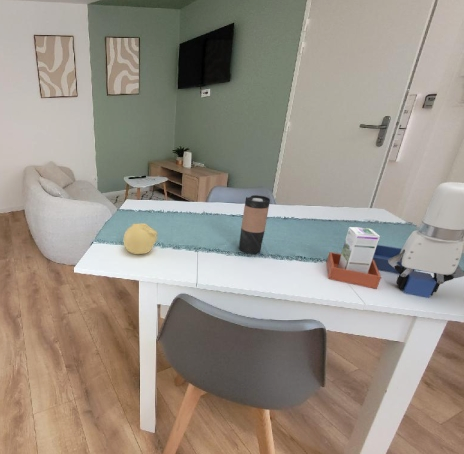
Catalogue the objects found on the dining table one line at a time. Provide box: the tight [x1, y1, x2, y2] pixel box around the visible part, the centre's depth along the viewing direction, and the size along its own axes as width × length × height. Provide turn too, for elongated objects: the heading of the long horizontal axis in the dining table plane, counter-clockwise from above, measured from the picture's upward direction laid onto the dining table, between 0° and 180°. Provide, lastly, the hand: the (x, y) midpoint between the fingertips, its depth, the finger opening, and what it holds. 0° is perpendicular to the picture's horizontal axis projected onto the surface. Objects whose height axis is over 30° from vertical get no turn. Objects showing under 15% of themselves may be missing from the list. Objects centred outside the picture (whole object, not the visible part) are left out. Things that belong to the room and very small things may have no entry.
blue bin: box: [372, 244, 416, 275], centre depth 94 cm, size 11×11×4 cm
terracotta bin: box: [326, 251, 382, 290], centre depth 89 cm, size 11×11×4 cm
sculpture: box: [123, 222, 158, 255], centre depth 109 cm, size 11×12×11 cm
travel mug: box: [238, 194, 271, 255], centre depth 104 cm, size 8×8×20 cm
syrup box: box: [337, 226, 381, 273], centre depth 87 cm, size 6×6×14 cm
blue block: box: [402, 270, 436, 299], centre depth 81 cm, size 5×5×5 cm
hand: (414, 289), depth 81 cm, fingers closed on blue block, 5 cm apart
